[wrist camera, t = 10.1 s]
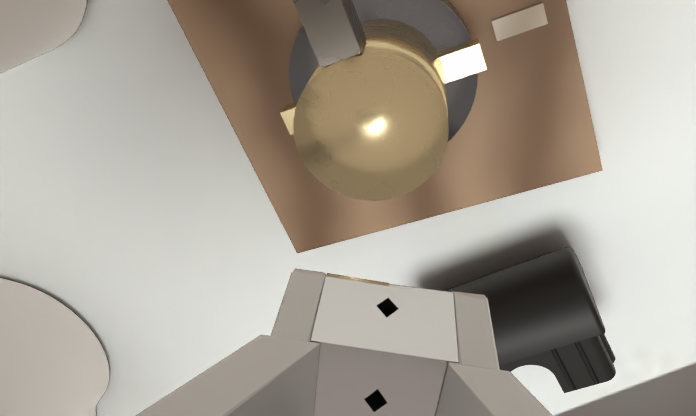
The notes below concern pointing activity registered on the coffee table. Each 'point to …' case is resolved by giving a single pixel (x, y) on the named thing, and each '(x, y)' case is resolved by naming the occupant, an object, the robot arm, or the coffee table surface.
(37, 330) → the robot arm
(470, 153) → the base plate
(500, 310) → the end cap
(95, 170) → the coffee table surface
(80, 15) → the pill bottle
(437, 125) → the crank handle
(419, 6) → the post collar
